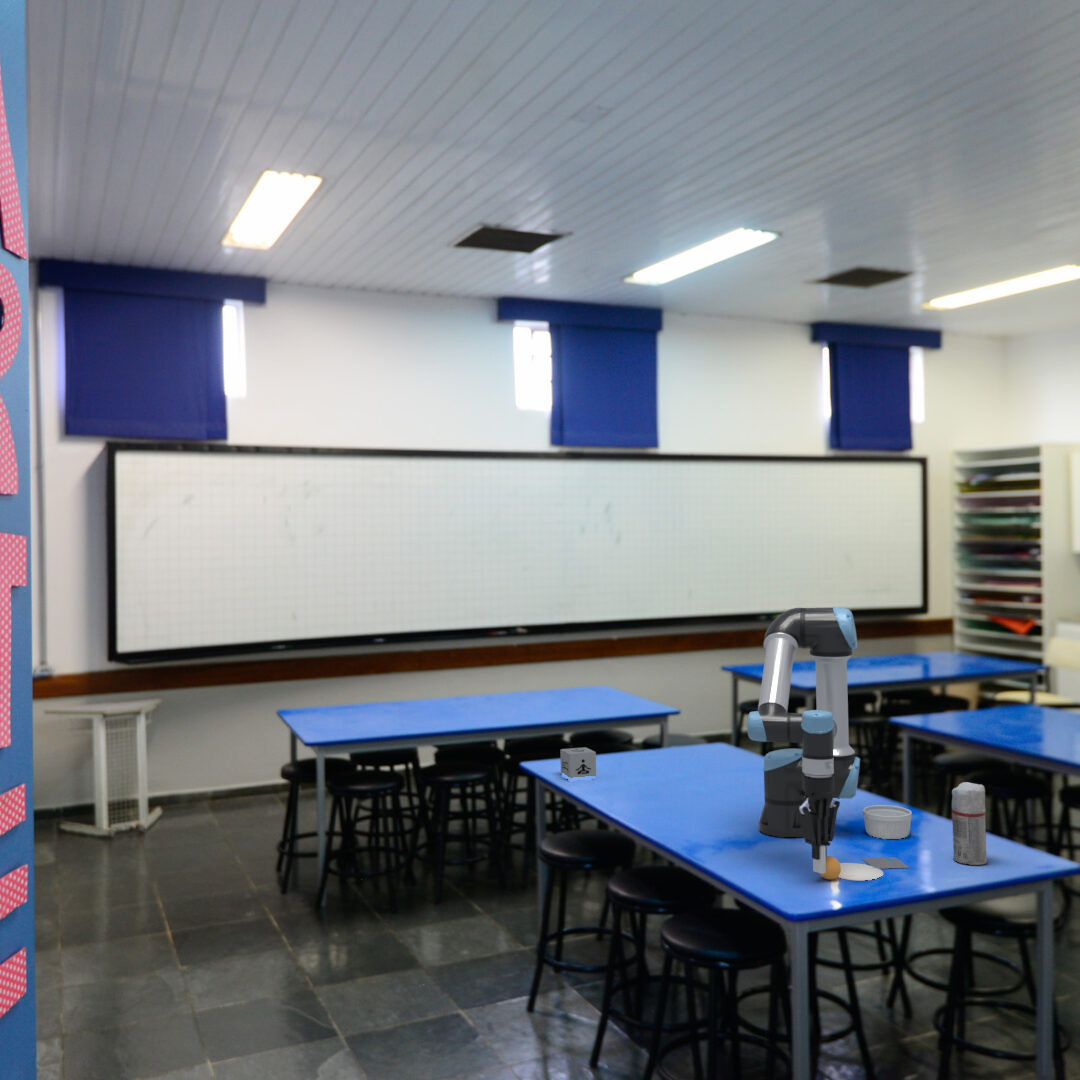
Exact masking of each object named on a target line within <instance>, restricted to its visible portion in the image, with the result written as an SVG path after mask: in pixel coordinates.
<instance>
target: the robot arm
mask: <svg viewBox="0 0 1080 1080" xmlns="http://www.w3.org/2000/svg"><path fill="white" fill-rule="evenodd" d="M857 639H858V637H857V629H856V625H855V620H854V615H853V613H852V611H851V610H850V609H848V608H843V607H834V606H833V607H793V608H790V609H787V610H786V611H784V612H782V613H781V614H779V615H778V616H776V618H775V619H774V620H773V621H772V622H771V623H770V625H769V626H768V628H767V629H766V632H765V634H764V638H763V649H764V650H765V657H764V663H763V664H764V665H763V672H762V678H761V679H762V680H761V686H760V692H759V700H758V705H757V710H755V711H750V712H749V713H748V714H747V715H748V716H747V723H746V728H747V730H746V732H747V736H748V738H749V740H751V741H755V742H756V741H757V742H764V743H766V742H767V743H770V742H772V743H792V744H801V747H802V748H792V747H791V748H783V749H777V750H776V749H775V750H773V751H769V752H768V753H766V754H765V755H764V758H763V768H762V769H763V788H764V789H763V791H764V804H763V807H762V811H761V815H760V818H759V821H758V831H759V830H760V831H761V832H762V833H761V832H760V831H759V832H760V833H761V834H763V833H765V834H764V835H766V834H767V836H770V835H772V836H771V837H775V836H777V838H784V837H797V838H804V843H806V844H809V845H810V846H811V857H812V869H813V872H815V873H818V874H820V873H821V874H824V873H826V857H827V856H828V853H827V852H828V850H827V848H828V847H829V846H831V842H832V841H833V840H834V836H835V828H836V824H837V823H836V821H837V814H838V811H839V807H840V805H841V801H840V799H843V800H844V799H848V800H849V799H853V798H854V797H856V794H857V791H858V790H857V789H858V782H859V773H860V765H861V764H860V763H861V758H860V757H858V756H855V755H856V753H855V749H853V748H852V747H851V745H850V741H849V740H850V739H849V736H850V735H849V732H850V731H849V701H848V700H849V699H848V664H847V663H848V661H849V660H850V659H851V658H852V656H853V651H854V650H857V649H858V640H857ZM799 649H803V650H804V649H806V650H807V649H809V656H810V657H811V658H812V660H814V661H815V694H816V696H815V698H816V699H815V701H816V709H810V710H804V711H803V712H802V713H801V712H800V713H799V712H797V713H795V712H788V708H789V701H790V700H789V699H790V692H791V691H790V690H791V682H792V674H793V664H794V663H793V662H794V657H795V655H796V654H797V652H799V651H798V650H799ZM836 799H837V800H836Z"/></svg>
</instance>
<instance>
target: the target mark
mask: <svg viewBox="0 0 1080 1080" xmlns="http://www.w3.org/2000/svg"><path fill="white" fill-rule="evenodd" d="M839 863H840V866H841V872H840V874H839V876H838V877H837V879H840V878H841V879H840V880H847V881H857V882H858V881H859V882H860V881H861V882H862V881H863V882H864V881H865V880H868V881H873V880H872V879H875V880H878V879H877V878H879V877H881V876H882V877H883V876H884V871H883V870H882V869H878V868H876V867H872V866H870V865H868V864H864V863H857V862H856V863H855V862H839ZM874 868H875V869H874ZM882 877H881V878H882ZM879 879H880V878H879Z"/></svg>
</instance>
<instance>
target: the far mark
mask: <svg viewBox="0 0 1080 1080" xmlns="http://www.w3.org/2000/svg"><path fill="white" fill-rule="evenodd" d="M885 858H886V859H885ZM887 858H889V859H887ZM882 859H883V860H882ZM861 860H862V861H863V860H864V861H863V862H865V863H866V865H868V864H869V865H870V866H872V867H876V868H878V869H880V870H890V869H889V868H904V869H910V867H909V866H908V865H907V864H905V863H904V862H903V861H901V860H900V859H898V858H897V857H896V856H894V857H893V856H891V857H862V858H861ZM889 860H890V861H889ZM892 860H893V861H892ZM874 869H875V868H874Z"/></svg>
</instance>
